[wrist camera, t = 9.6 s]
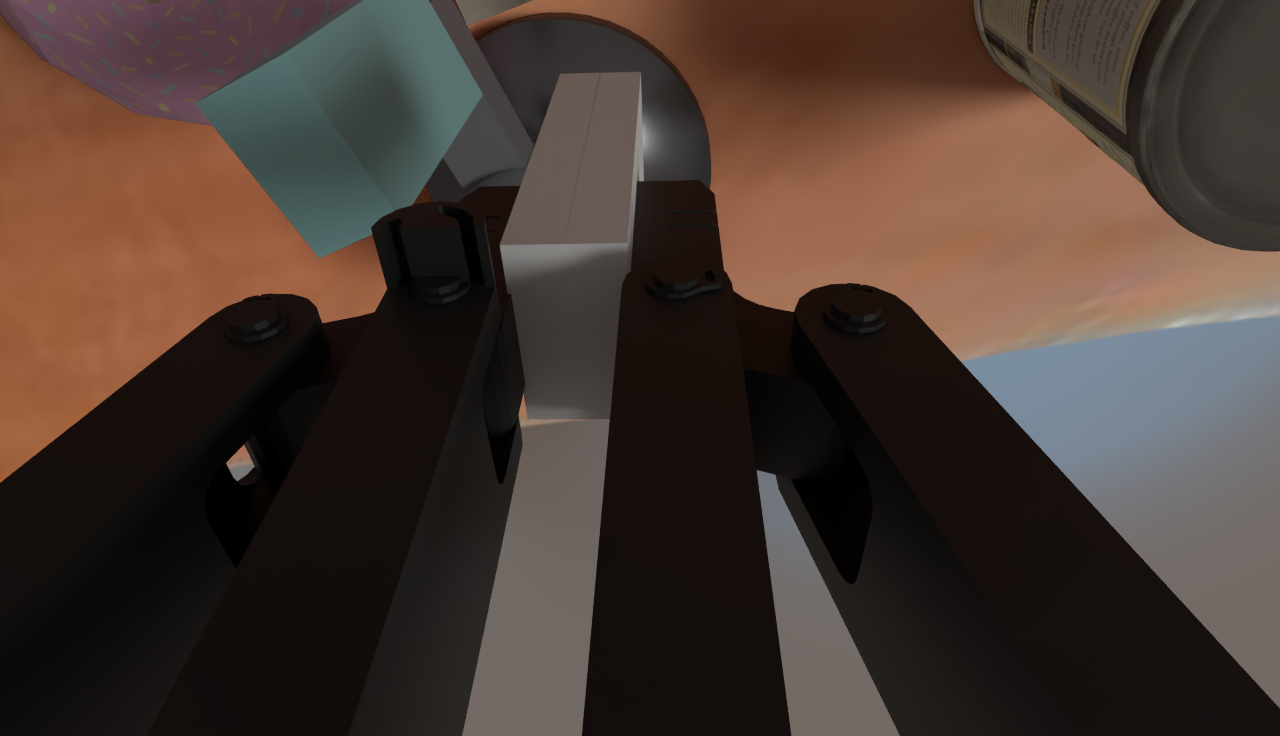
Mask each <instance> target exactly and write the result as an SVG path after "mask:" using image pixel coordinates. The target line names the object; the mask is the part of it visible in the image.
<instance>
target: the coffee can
mask: <svg viewBox="0 0 1280 736" xmlns="http://www.w3.org/2000/svg"><path fill="white" fill-rule="evenodd" d="M974 13H975V19H976V23H977V27H978V30H979V33H980V36H981V38H982V41H983V43H984V45H985V47H986V49H987V51H988V52H989V54H990V55H991V57H992V59H993V60H994V61H995V62H996V63H997V64H998V65H999V66H1000V67H1001V68H1002V69H1003V70H1004V71H1005V72H1007V73H1008V74H1009V75H1011V76H1012V77H1013V78H1015V79H1016V80H1018V81H1020V82H1022V83H1024V84H1025V85H1026V86H1027V87H1028V88H1029V89H1031V90H1032V91H1033V92H1034V93H1035V94H1036V95H1037V96H1038V97H1040V98H1041V99H1042V100H1043V101H1044V102H1046V103H1047V104H1048V105H1049V106H1050V107H1052V108H1053V109H1054V110H1055V111H1057V112H1058V113H1059V114H1060V115H1061V116H1063V117H1064V118H1065V119H1066V120H1067V121H1068V122H1070V123H1071V124H1072V125H1073V126H1074V127H1075V128H1077V129H1078V130H1079V131H1080V132H1082V133H1083V134H1084V135H1085V136H1086V137H1087V138H1088V139H1089V140H1090V141H1091V142H1092V143H1094V144H1095V145H1096V146H1097V147H1099V148H1100V149H1101V150H1102V151H1103V152H1104V153H1105V154H1107V155H1108V156H1109V157H1110V158H1111V159H1113V160H1114V161H1115V162H1117V163H1118V164H1119V165H1120V166H1122V167H1123V168H1124V169H1125V170H1126V171H1127V172H1129V173H1130V174H1131V175H1132V176H1133V177H1134V178H1136V179H1137V180H1138V181H1139V182H1140V183H1142V184H1143V185H1144V186H1145V187H1146V189H1147V190H1148V192H1149V193H1150V195H1151V196H1152V197H1153V198H1154V199H1155V201H1156V202H1157V203H1158V204H1159V205H1160V206H1161V207H1162V208H1163V209H1164V211H1165V212H1166V213H1167V214H1169V215H1170V216H1171V217H1172V218H1173V219H1174V220H1175V221H1176V222H1178V223H1179V224H1180V225H1181V226H1183V227H1184V228H1186V229H1187V230H1189V231H1190V232H1192V233H1194V234H1196V235H1198V236H1200V237H1202V238H1204V239H1206V240H1208V241H1211V242H1213V243H1216V244H1220V245H1223V246H1227V247H1231V248H1236V249H1240V250H1250V251H1280V0H974Z"/></svg>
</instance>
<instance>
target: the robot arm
mask: <svg viewBox="0 0 1280 736" xmlns="http://www.w3.org/2000/svg"><path fill="white" fill-rule="evenodd" d="M371 231H372V234H373V238H374V241H375V245H376V249H377V252H378V256H379V260H380V263H381V267H382V271H383V274H384V278H385V281H386V285H387V291H386V292H385V294H384V296H383V298H382V300H381V302H380V303H379V305H378V307H377V309H376V311H375V312H374V313H370V314H366V315H362V316H358V317H353V318H348V319H343V320H338V321H332V322H327V323H322V321H321V319H320V316H319V313H318V310H317V307H316V306H315V305H314V304H313V303H312V302H311V301H310V300H309V299H307V298H304V297H300V296H297V295H293V294H263V295H261V296H258V295H257V296H252V297H248V298H245V299H244V300H243V301H240V302H238V303H235V304H232V305H230V306H227V307H226V308H224V309H222V310H221V311H219V312H217V313H216V314H214V315H212V316H211V317H209V318H208V319H207V320H205V321H204V322H203V323H202V324H200V325H199V326H198V327H197V328H195V329H194V330H193V331H192V332H190V333H189V334H188V335H186V336H185V337H184V338H183V339H181V340H180V341H179V342H178V343H176V344H175V345H174V346H173V347H171V348H170V349H169V350H168V351H166V352H165V353H164V354H162V355H161V356H160V357H159V358H157V359H156V360H155V361H154V362H152V363H151V364H150V365H149V366H147V367H146V368H145V369H144V370H142V371H141V372H140V373H138V374H137V375H136V376H135V377H133V378H132V379H131V380H130V381H128V382H127V383H126V384H125V385H123V386H122V387H121V388H119V389H118V390H117V391H116V392H114V393H113V394H112V395H111V396H109V397H108V398H107V399H106V400H104V401H103V402H102V403H101V404H99V405H98V406H97V407H95V408H94V409H93V410H92V411H90V412H89V413H88V414H87V415H85V416H84V417H83V418H82V419H80V420H79V421H78V422H77V423H75V424H74V425H73V426H71V427H70V428H69V429H68V430H66V431H65V432H64V433H63V434H61V435H60V436H59V437H58V438H56V439H55V440H54V441H53V442H51V443H50V444H49V445H47V446H46V447H45V448H44V449H42V450H41V451H40V452H39V453H37V454H36V455H35V456H34V457H32V458H31V459H30V460H29V461H27V462H26V463H25V464H23V465H22V466H21V467H20V468H18V469H17V470H16V471H15V472H13V473H12V474H11V475H10V476H8V477H7V478H6V479H5V480H3V481H2V482H1V483H0V736H462V733H463V729H464V724H465V719H466V714H467V709H468V705H469V699H470V695H471V690H472V685H473V680H474V676H475V671H476V666H477V661H478V656H479V652H480V647H481V642H482V637H483V633H484V627H485V623H486V618H487V613H488V609H489V604H490V599H491V594H492V589H493V585H494V580H495V575H496V570H497V565H498V560H499V556H500V551H501V546H502V541H503V536H504V532H505V527H506V522H507V517H508V513H509V508H510V503H511V498H512V493H513V488H514V484H515V479H516V474H517V469H518V465H519V459H520V455H521V450H522V433H521V427H520V421H519V416H518V414H519V409H520V405H521V401H522V396H523V392H524V398H525V404H526V411H527V417H528V419H610V425H609V435H608V447H607V458H606V469H605V481H604V492H603V503H602V514H601V526H600V537H599V548H598V560H597V571H596V583H595V594H594V605H593V617H592V628H591V639H590V651H589V662H588V673H587V684H586V697H585V707H584V719H583V730H582V736H791V729H790V723H789V714H788V706H787V699H786V691H785V683H784V676H783V668H782V661H781V654H780V645H779V638H778V631H777V622H776V615H775V607H774V600H773V592H772V585H771V578H770V569H769V562H768V554H767V547H766V539H765V532H764V523H763V516H762V508H761V501H760V493H759V485H758V478H757V470H759V471H763V472H767V473H771V474H775V475H776V479H777V483H778V488H779V491H780V492H781V495H782V496H783V499H784V500H785V503H786V505H787V507H788V509H789V511H790V513H791V515H792V517H793V519H794V521H795V523H796V525H797V527H798V529H799V531H800V533H801V535H802V537H803V539H804V541H805V543H806V545H807V547H808V549H809V551H810V554H811V556H812V558H813V560H814V561H815V564H816V566H817V568H818V570H819V572H820V574H821V576H822V578H823V580H824V582H825V584H826V586H827V588H828V590H829V592H830V594H831V596H832V598H833V600H834V602H835V604H836V606H837V608H838V610H839V612H840V614H841V617H842V618H843V620H844V623H845V625H846V627H847V629H848V631H849V633H850V635H851V637H852V639H853V641H854V643H855V645H856V647H857V649H858V651H859V653H860V655H861V657H862V659H863V661H864V663H865V665H866V667H867V669H868V671H869V673H870V675H871V678H872V680H873V682H874V684H875V685H876V688H877V690H878V692H879V694H880V696H881V698H882V700H883V702H884V704H885V706H886V708H887V710H888V712H889V714H890V716H891V718H892V720H893V722H894V724H895V726H896V728H897V730H898V732H899V734H900V736H1280V708H1279V707H1278V706H1277V705H1276V704H1275V703H1274V702H1273V701H1272V700H1271V698H1270V697H1269V696H1268V695H1267V694H1266V693H1265V692H1264V691H1263V690H1262V689H1261V688H1260V686H1259V685H1258V684H1257V683H1256V682H1255V681H1254V680H1253V679H1252V678H1251V677H1250V676H1249V675H1248V673H1247V672H1246V671H1245V670H1244V669H1243V668H1242V667H1241V666H1240V665H1239V664H1238V663H1237V661H1236V660H1235V659H1234V658H1233V657H1232V656H1231V655H1230V654H1229V653H1228V652H1227V651H1226V650H1225V648H1224V647H1223V646H1222V645H1221V644H1220V643H1219V642H1218V641H1217V640H1216V639H1215V638H1214V636H1213V635H1212V634H1211V633H1210V632H1209V631H1208V630H1207V629H1206V628H1205V627H1204V626H1203V625H1202V623H1201V622H1200V621H1199V620H1198V619H1197V618H1196V617H1195V616H1194V615H1193V614H1192V613H1191V611H1190V610H1189V609H1188V608H1187V607H1186V606H1185V605H1184V604H1183V603H1182V602H1181V601H1180V600H1179V598H1178V597H1177V596H1176V595H1175V594H1174V593H1173V592H1172V591H1171V590H1170V589H1169V588H1168V587H1167V585H1166V584H1165V583H1164V582H1163V581H1162V580H1161V579H1160V578H1159V577H1158V576H1157V575H1156V573H1155V572H1154V571H1153V570H1152V569H1151V568H1150V567H1149V566H1148V565H1147V564H1146V563H1145V562H1144V560H1143V559H1142V558H1141V557H1140V556H1139V555H1138V554H1137V553H1136V552H1135V551H1134V550H1133V549H1132V547H1131V546H1130V545H1129V544H1128V543H1127V542H1126V541H1125V540H1124V539H1123V538H1122V536H1121V535H1120V534H1119V533H1118V532H1117V531H1116V530H1115V529H1114V528H1113V527H1112V526H1111V525H1110V523H1109V522H1108V521H1107V520H1106V519H1105V518H1104V517H1103V516H1102V515H1101V514H1100V513H1099V512H1098V510H1097V509H1096V508H1095V507H1094V506H1093V505H1092V504H1091V503H1090V502H1089V501H1088V500H1087V499H1086V497H1085V496H1084V495H1083V494H1082V493H1081V492H1080V491H1079V490H1078V489H1077V488H1076V487H1075V486H1074V484H1073V483H1072V482H1071V481H1070V480H1069V479H1068V478H1067V477H1066V476H1065V475H1064V473H1063V472H1061V470H1060V469H1059V468H1058V467H1057V466H1056V465H1055V464H1054V463H1053V462H1052V461H1051V459H1050V458H1049V457H1048V456H1047V455H1046V454H1045V453H1044V452H1043V451H1042V450H1041V448H1040V447H1039V446H1038V445H1037V444H1036V443H1035V442H1034V441H1033V440H1032V439H1031V438H1030V436H1029V435H1028V434H1027V433H1026V432H1025V431H1024V430H1023V429H1022V428H1021V427H1020V426H1019V425H1018V424H1017V422H1015V420H1014V419H1013V418H1012V417H1011V416H1010V415H1009V414H1008V413H1007V412H1006V410H1005V409H1004V408H1003V407H1002V406H1001V405H1000V404H999V403H998V402H997V401H996V400H995V398H994V397H993V396H992V395H991V394H990V393H989V392H988V391H987V390H986V389H985V388H984V386H983V385H982V384H981V383H980V382H979V381H978V380H977V379H976V378H975V377H974V376H973V375H972V373H971V372H970V371H969V370H968V369H967V368H966V367H965V366H964V365H963V364H962V363H961V361H960V360H959V359H958V358H957V357H956V356H955V355H954V354H953V353H952V352H951V351H950V350H949V348H948V347H947V346H946V345H945V344H944V343H943V342H942V341H941V340H940V339H939V338H938V337H937V335H936V334H935V333H934V332H933V331H932V330H931V329H930V328H929V327H928V326H927V325H926V323H925V322H924V321H923V320H922V319H921V318H920V317H919V316H918V315H917V314H916V313H915V312H914V310H913V309H912V308H911V307H910V306H909V305H907V304H906V303H905V302H903V301H902V300H901V299H899V298H898V297H897V296H895V295H893V294H891V293H888V292H885V291H883V290H880V289H878V288H875V287H872V286H868V285H860V284H854V283H847V284H830V285H827V286H823V287H819V288H816V289H812V290H811V291H809V292H808V293H806V294H805V295H804V296H802V297H801V298H799V301H798V303H797V305H796V308H795V311H794V312H790V311H785V310H779V309H774V308H770V307H766V306H762V305H758V304H756V303H754V302H751V301H749V300H747V299H745V298H743V297H742V296H740V295H739V294H737V293H736V292H734V291H733V287H732V283H731V281H730V279H729V277H728V275H727V273H726V272H725V271H724V267H723V259H722V251H721V243H720V235H719V227H718V219H717V213H716V203H715V195H714V193H713V192H712V191H711V190H710V189H709V188H707V187H706V186H705V185H704V184H703V183H702V182H701V181H700V180H676V181H644V165H643V130H642V94H641V72H612V73H569V74H560V76H559V79H558V82H557V84H556V87H555V90H554V93H553V96H552V99H551V101H550V104H549V107H548V110H547V113H546V116H545V118H544V121H543V124H542V127H541V130H540V133H539V135H538V138H537V141H536V144H535V147H534V150H533V152H532V155H531V158H530V161H529V164H528V167H527V169H526V172H525V175H524V178H523V181H522V183H521V186H479V187H478V188H476V189H475V190H474V191H472V192H471V193H470V194H468V195H467V196H465V197H464V198H463V199H461V200H460V201H459V202H445V201H437V202H428V203H419V204H415V205H411V206H407V207H404V208H400V209H397V210H395V211H393V212H391V213H389V214H387V215H385V216H383V217H381V218H380V219H379V220H378V221H377V222H376V223H375V224H374V225H373V226H372V227H371ZM243 445H245V447H246V449H247V451H248V453H249V455H250V457H251V459H252V461H253V464H254V466H255V467H254V468H253V469H252V470H251V471H250V472H249V473H248V474H247V475H246V476H245V477H243V478H242V479H240V480H239V481H236V480H235V479H234V478H233V476H232V474H231V472H230V470H229V468H228V466H227V464H226V462H227V461H228V460H229V459H230V458H231V457H232V456H233V455H234V454H235V453H236V452H237V451H238V450H239V449H240V448H241V447H242V446H243Z"/></svg>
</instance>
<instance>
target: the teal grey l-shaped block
mask: <svg viewBox="0 0 1280 736" xmlns="http://www.w3.org/2000/svg"><path fill="white" fill-rule="evenodd" d="M195 104H196V106H197V107H198V108H199V109H200V111H201V112H202V113H203V114H204V116H205V117H206V118H207V119H208V121H209V122H210V123H211V124H212V125H213V127H214V128H215V129H216V130H217V132H218V133H219V134H220V135H221V137H222V138H223V139H224V140H225V142H226V143H227V144H228V145H229V147H230V148H231V149H232V150H233V152H234V153H235V154H236V155H237V157H238V158H239V159H240V160H241V162H242V163H243V164H244V165H245V167H246V168H247V169H248V170H249V171H250V173H251V174H252V175H253V176H254V178H255V179H256V180H257V181H258V183H259V184H260V185H261V186H262V188H263V189H264V190H265V191H266V193H267V194H268V195H269V196H270V198H271V199H272V200H273V201H274V203H275V204H276V205H277V206H278V208H279V209H280V210H281V211H282V212H283V214H284V215H285V216H286V217H287V219H288V220H289V221H290V222H291V224H292V225H293V226H294V227H295V229H296V230H297V231H298V232H299V234H300V235H301V236H302V237H303V239H304V240H305V241H306V242H307V244H308V245H309V246H310V247H311V249H312V250H313V251H314V252H315V253H316V255H317V256H318V257H319V258H321V257H323V256H326V255H328V254H330V253H332V252H335V251H337V250H339V249H341V248H343V247H346V246H348V245H350V244H352V243H354V242H357V241H359V240H361V239H363V238H366V237H368V236H370V235H372V231H371V227H372V226H373V225H374V224H375V223H376V222H377V221H378V220H379V219H380V218H381V217H383V216H385V215H387V214H389V213H391V212H393V211H395V210H397V209H400V208H404V207H407V206H411V205H413V203H414V201H415V200H416V198H417V197H418V195H419V194H420V192H421V191H422V189H423V187H424V186H425V184H426V183H427V181H428V180H429V178H430V176H431V175H432V173H433V172H434V170H435V169H436V167H437V166H438V164H439V162H440V161H441V159H442V158H444V160H445V162H446V163H447V165H448V166H449V168H450V169H451V171H452V173H453V174H454V176H455V177H456V179H457V180H458V182H459V183H460V185H461V187H462V188H463V190H464V191H465V193H464V195H463V197H462V198H461V199H463V198H464V197H465V196H467V195H468V194H470V193H471V192H472V191H474V190H475V189H476V188H478V187H479V186H521V183H522V181H523V178H524V175H525V172H526V169H527V167H528V164H529V161H530V158H531V155H532V152H533V150H534V147H535V144H536V141H531V139H530V137H529V136H528V134H527V132H526V130H525V129H524V127H523V125H522V123H521V121H520V120H519V118H518V116H517V114H516V112H515V111H514V109H513V107H512V105H511V103H510V102H509V100H508V98H507V96H506V95H505V93H504V91H503V89H502V87H501V86H500V84H499V82H498V80H497V78H496V77H495V75H494V73H493V71H492V70H491V68H490V66H489V64H488V62H487V61H486V59H485V57H484V55H483V53H482V52H481V50H480V48H479V46H478V44H477V43H476V41H475V39H474V37H473V36H472V34H471V32H470V30H469V28H468V27H467V25H466V23H465V21H464V19H463V18H462V16H461V14H460V12H459V10H458V9H457V7H456V5H455V3H454V2H453V0H354V1H353V2H351V3H349V4H347V5H346V6H344V7H343V8H341V9H339V10H338V11H336V12H335V13H333V14H332V15H330V16H329V17H327V18H326V19H324V20H323V21H321V22H319V23H318V24H316V25H315V26H313V27H312V28H310V29H309V30H307V31H306V32H304V33H303V34H301V35H299V36H298V37H296V38H295V39H293V40H292V41H290V42H289V43H287V44H286V45H284V46H283V47H281V48H279V49H278V50H276V51H275V52H273V53H272V54H270V55H269V56H267V57H266V58H264V59H263V60H261V61H259V62H258V63H256V64H255V65H253V66H252V67H250V68H249V69H247V70H246V71H244V72H243V73H241V74H239V75H238V76H236V77H235V78H233V79H232V80H230V81H229V82H227V83H226V84H224V85H223V86H221V87H219V88H218V89H216V90H215V91H213V92H212V93H210V94H209V95H207V96H206V97H204V98H202V99H201V100H199V101H198V102H196V103H195Z"/></svg>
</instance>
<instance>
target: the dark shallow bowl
mask: <svg viewBox="0 0 1280 736" xmlns="http://www.w3.org/2000/svg"><path fill="white" fill-rule="evenodd" d="M529 1H532V0H456V2H457V5H458V7H459V9H460V11H461V13H462V15H463V18H464V20H465V22H466V24H467V26H468V25H471V24H474V23H476V22H479V21H481V20H484V19H486V18H489V17H491V16H494V15H496V14H499V13H501V12H504V11H506V10H509V9H511V8H514V7H516V6H519V5H522V4H524V3H527V2H529ZM476 43H477V44H478V46H479V48H480V50H481V52H482V53H483V55H484V57H485V59H486V61H487V62H488V64H489V66H490V68H491V70H492V71H493V73H494V75H495V77H496V78H497V80H498V82H499V84H500V86H501V87H502V89H503V91H504V93H505V95H506V96H507V98H508V100H509V102H510V103H511V105H512V107H513V109H514V111H515V112H516V114H517V116H518V118H519V120H520V121H521V123H522V125H523V127H524V129H525V130H526V132H527V134H528V136H529V137H530V139H531V141H537V138H538V135H539V133H540V130H541V127H542V124H543V121H544V118H545V116H546V113H547V110H548V107H549V104H550V101H551V99H552V96H553V93H554V90H555V87H556V84H557V82H558V79H559V76H560V74H569V73H612V72H641V94H642V130H643V165H644V181H676V180H700V181H701V182H702V183H703V184H704V185H705V186H706V187H707V188H709V189H710V183H711V157H710V146H709V137H708V132H707V128H706V124H705V120H704V117H703V114H702V112H701V109H700V106H699V104H698V101H697V99H696V97H695V96H694V94H693V92H692V90H691V88H690V86H689V85H688V83H687V82H686V80H685V79H684V78H683V76H682V75H681V73H680V72H679V71H678V69H677V68H676V67H675V66H674V65H673V64H672V63H671V62H670V61H669V60H668V59H667V57H666V56H665V55H664V54H663V53H662V52H660V51H659V50H658V49H657V48H655V47H654V46H653V45H652V44H650V43H649V42H648V41H647V40H645V39H643V38H642V37H640V36H638V35H637V34H635V33H633V32H632V31H630V30H628V29H626V28H624V27H622V26H619V25H617V24H615V23H612V22H610V21H607V20H603V19H600V18H596V17H593V16H589V15H582V14H574V13H543V14H537V15H530V16H526V17H522V18H519V19H516V20H513V21H509V22H507V23H505V24H503V25H501V26H499V27H496V28H494V29H492V30H490V31H489V32H487V33H486V34H485V35H483V36H482V37H480V38H479V39H477V40H476ZM426 185H427V188H428V191H429V194H430V197H431V200H432V202H437V201H445V202H459V201H460V200H461V198H462V197H463V195H464V193H465V191H464V190H463V188H462V187H461V185H460V183H459V182H458V180H457V179H456V177H455V176H454V174H453V173H452V171H451V169H450V168H449V166H448V165H447V163H446V162H445V160H444V158H442V159H441V161H440V162H439V164H438V166H437V167H436V169H435V170H434V172H433V173H432V175H431V176H430V178H429V180H428V181H427V183H426Z"/></svg>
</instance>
